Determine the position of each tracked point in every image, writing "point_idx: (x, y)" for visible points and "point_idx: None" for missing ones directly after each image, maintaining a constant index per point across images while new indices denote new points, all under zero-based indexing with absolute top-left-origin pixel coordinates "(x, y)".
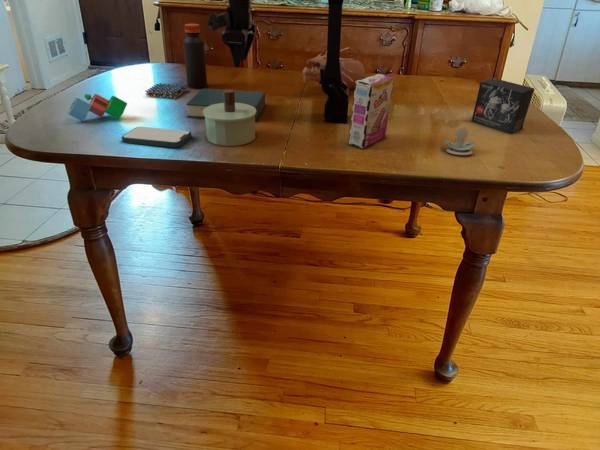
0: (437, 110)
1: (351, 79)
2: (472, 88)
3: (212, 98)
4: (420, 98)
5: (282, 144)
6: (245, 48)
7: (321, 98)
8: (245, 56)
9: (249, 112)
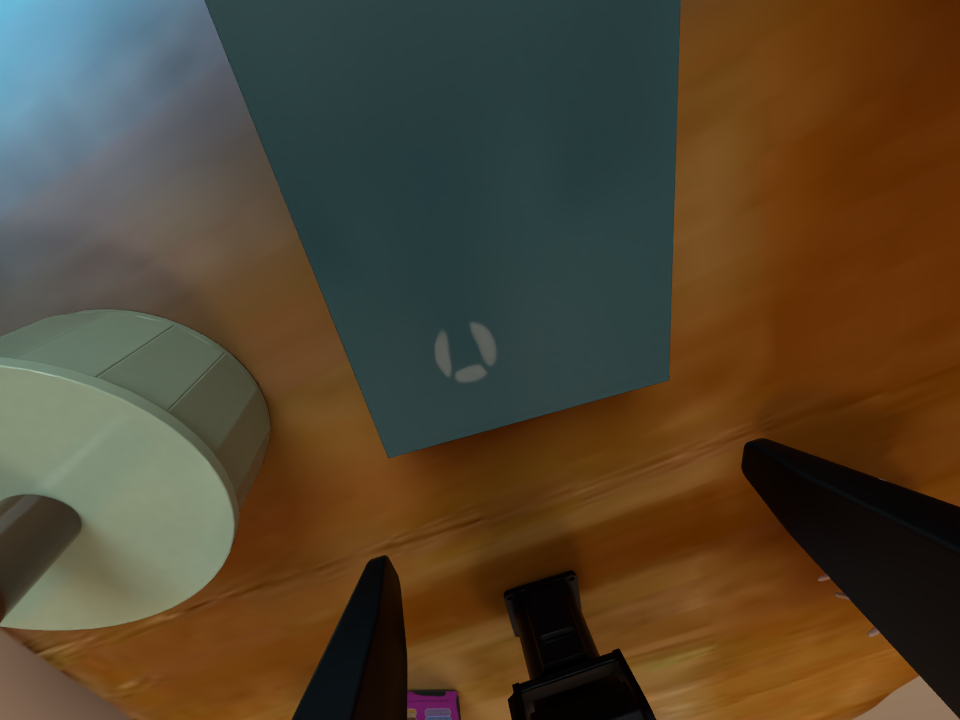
0: (681, 708)
1: (844, 598)
2: (851, 697)
3: (443, 127)
4: (770, 663)
5: (224, 586)
6: (886, 588)
7: (752, 491)
8: (772, 503)
9: (110, 603)
